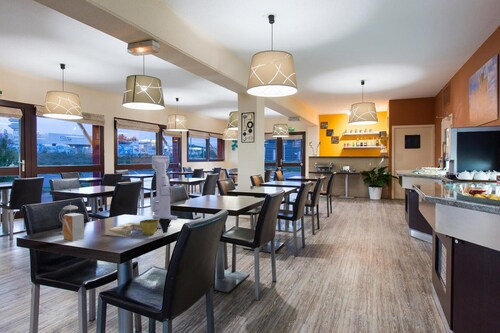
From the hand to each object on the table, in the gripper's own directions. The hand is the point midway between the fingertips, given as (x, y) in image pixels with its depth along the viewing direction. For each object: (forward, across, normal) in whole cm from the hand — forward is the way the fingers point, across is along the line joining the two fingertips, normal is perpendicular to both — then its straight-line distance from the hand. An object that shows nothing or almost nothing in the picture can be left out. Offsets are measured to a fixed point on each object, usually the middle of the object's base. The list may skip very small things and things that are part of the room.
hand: (165, 232), depth 172 cm
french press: (+2, -57, -10) cm, 58 cm away
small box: (+2, -40, -22) cm, 46 cm away
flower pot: (+2, -10, 0) cm, 10 cm away
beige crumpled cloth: (+1, -24, 0) cm, 24 cm away
